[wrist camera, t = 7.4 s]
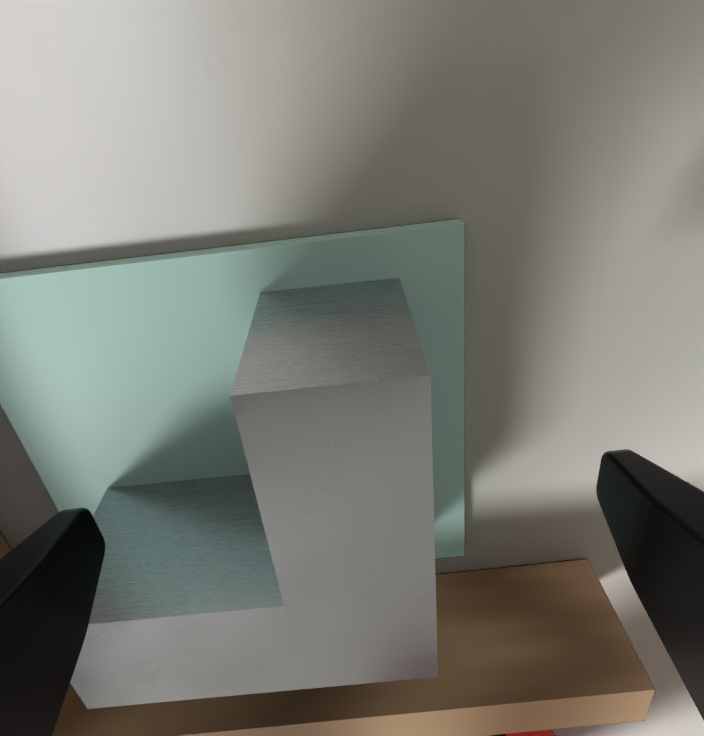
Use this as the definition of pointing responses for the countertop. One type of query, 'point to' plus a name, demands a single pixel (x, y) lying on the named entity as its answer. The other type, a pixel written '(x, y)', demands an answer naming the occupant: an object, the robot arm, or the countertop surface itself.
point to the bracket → (284, 522)
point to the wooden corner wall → (441, 673)
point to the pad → (205, 356)
